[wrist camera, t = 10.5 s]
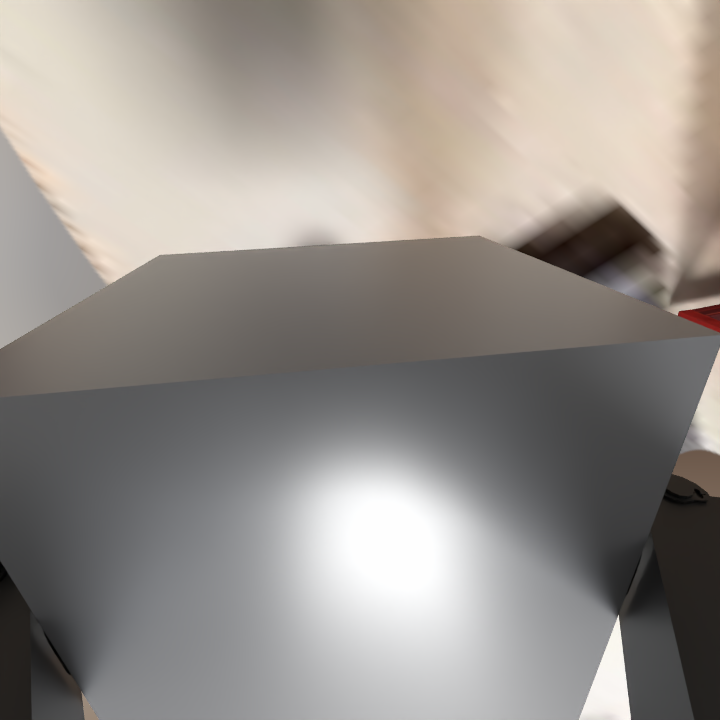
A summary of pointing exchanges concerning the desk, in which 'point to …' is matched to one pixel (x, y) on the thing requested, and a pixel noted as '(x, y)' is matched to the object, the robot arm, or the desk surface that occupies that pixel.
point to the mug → (704, 316)
